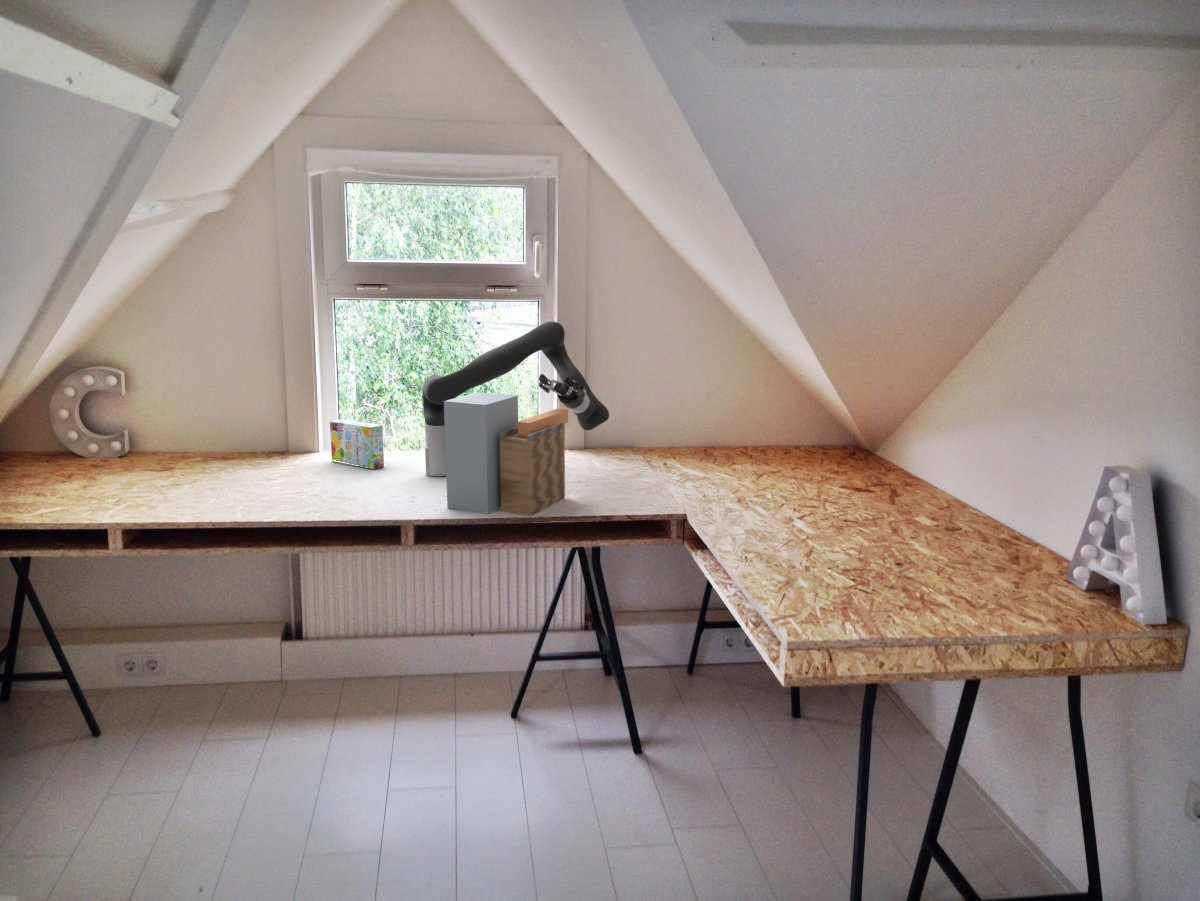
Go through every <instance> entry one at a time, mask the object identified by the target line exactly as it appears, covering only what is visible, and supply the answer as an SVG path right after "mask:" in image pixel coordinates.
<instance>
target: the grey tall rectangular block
mask: <svg viewBox="0 0 1200 901" xmlns="http://www.w3.org/2000/svg"><path fill="white" fill-rule="evenodd" d="M444 420H445V450H446V476H445V478H446V481H445V482H446V504H447V507H446V508H447V509H449V508H451V509H450V510H456V509H459V510H458V511H463V510H464V512H472V513H476V514H477V513H478V514H485V515H489V514H491V513H494V512H496V511H498V510H501V475H500V432H503V431H506V430H509V429H512V428H514V427H517V426H518V422H519V395H517V394H516V395H514V394H503V393H502V394H501V393H492V392H491V393H490V392H479V391H477V392H474V393H473V392H472V393H469V394H467V395H462V396H457V397H456V398H454V399H450V400H446V401H444Z"/></svg>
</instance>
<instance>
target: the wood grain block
mask: <svg viewBox="0 0 1200 901" xmlns="http://www.w3.org/2000/svg"><path fill="white" fill-rule="evenodd" d="M565 424H566V423H560V424H557V425H554V426H551V427H549V428H546V429H543V430H541V431H538V432H535V433H532V434H530V435H527V436H519V435H518V426H517V427H514V428H512V429H509V430H506V431H503V432H500V475H501V508H500V510H501V511H500V512H503V513H510V514H516V515H524V516H527V517H528V516H529V517H530V516H531V517H532V516H534V515H535V514H538V513H540V512H541V511H543V510H545V509H548V508H549V507H551V506H553V505H555V504H557V503H558V502H560V501H562V500H564V499H565V498H566V489H565V488H566V479H565V478H566V476H565V474H566V473H565V470H566V461H565V458H566V457H565V454H566V452H565V451H566V450H565V449H566V446H565V445H566V442H565V435H566V434H565V430H566V429H565V427H566V426H565Z"/></svg>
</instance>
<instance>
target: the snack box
mask: <svg viewBox="0 0 1200 901" xmlns="http://www.w3.org/2000/svg"><path fill="white" fill-rule="evenodd" d="M329 428H330V429H329V431H330V446H331V461H332V460H336V461H340V462H345V463H349V464H354V465H358V466H362V467H367V468H366V469H368V468H372V469H371V470H373V469H374V470H377V469H376V468H378V469H381V468H380V467H383V468H384V467H385V462H384V461H385V459H384V458H385V457H384V454H385V453H384V434H383V433H384V428H383V425H382V424H376V423H371V422H370V423H368V422H363V421H362V422H361V421H355V420H348V419H335V420H330V421H329ZM362 467H361V468H362Z"/></svg>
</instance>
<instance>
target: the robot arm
mask: <svg viewBox="0 0 1200 901" xmlns="http://www.w3.org/2000/svg"><path fill="white" fill-rule="evenodd" d="M565 332H566V331H565V328H564V327H563V325H562V324H561V323H559V322H557V321H553V320H551V321H545V322H543V323H542V324H540V325H538V326H536V327H534V328H533V329H532V330H530V331H528V332H526V333H524V334H523V335H521V336H519V337H517V338H514V339H512V340H509V341H508V342H506V343H503V344H501V345H499V346H497V347H495V348H492V349H490V350H489V351H486V352H484V353H482V354H480V355H478V356H477V357H476V358H474V359H473V360H472V361H470V362H469V363H467V364H466V365H465V366H463V367H462V368H460V369H459V370H456V371H454V372H452V373H449V374H446V375H441V374H432V375H430V376H428V377H427V378H426V379H425V380H424V382H423V384H422V409H423V410H422V411H423V416H424V429H425V430H424V431H425V433H424V435H425V448H424V456H425V476H429V477H430V476H431V477H446V450H445V420H444V401H446V400H450V399H454V398H458V397H460V396H461V395H462V394H464V393H465V392H467V391H470V390H471V389H473V388H476V387H479V386H482V385H483V384H486V383H488V382H491V381H493V380H495V379H497V378H499V377H503V376H504V375H506V374H508V373H509V372H511V371H512V370H514V369H515V368H517V367H518V366H519V365H520V364H522V363H523V362H524V361H525V360H526V359H527V358H528V357H530V356H531V355H533V354H535V353H537V352H540V351H541V352H542V353H543V354H544V355H545V357H546V358H547V359H548V360H549V362H550V364H551V365H552V366H553V368H554V369H555V370H556V373H557V374H558V376H559V377H560V380H561V381H558V380H556V379H550V378H549V377H547V376H546V375H545V374H543V373H540V374H539V377H538V381H539V382H538V387H539V388H540V389H541V390H543V391H544V392H546V393H547V394H549V393H550V391H551V392H553V393H555V394H556V395H557V398H558V401H560V403H561V404H562V405H563V406H564V407H566V408H567V410H568V411H571V412H572V413H574V414H575V416H576V419H577V421H578V424H579V426H580V428H582V429H583V430H584V431H592V430H594V429H595V428H597V427H599V426H600V425H602V424H604V423H605V422H607V421H608V420H609V418H610V411H609V410H608V407H607V406H606V405H604V404H603V403H602V402H601V401H600V400H599V399H598V398H597V397H596V395H595V394H594V393H593V391H592V390H591V388H590V386H589V384H588V382H587V381H586V379H585V377H584V376H583V374H582V373H581V371H580V370H579V369H578V368H577V367H576V366H575V364H574V363H573V361H572V360H571V358H570V356H569V354H568V352H567V349H566V346H565V336H566V334H565ZM554 384H555V385H554Z"/></svg>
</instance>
